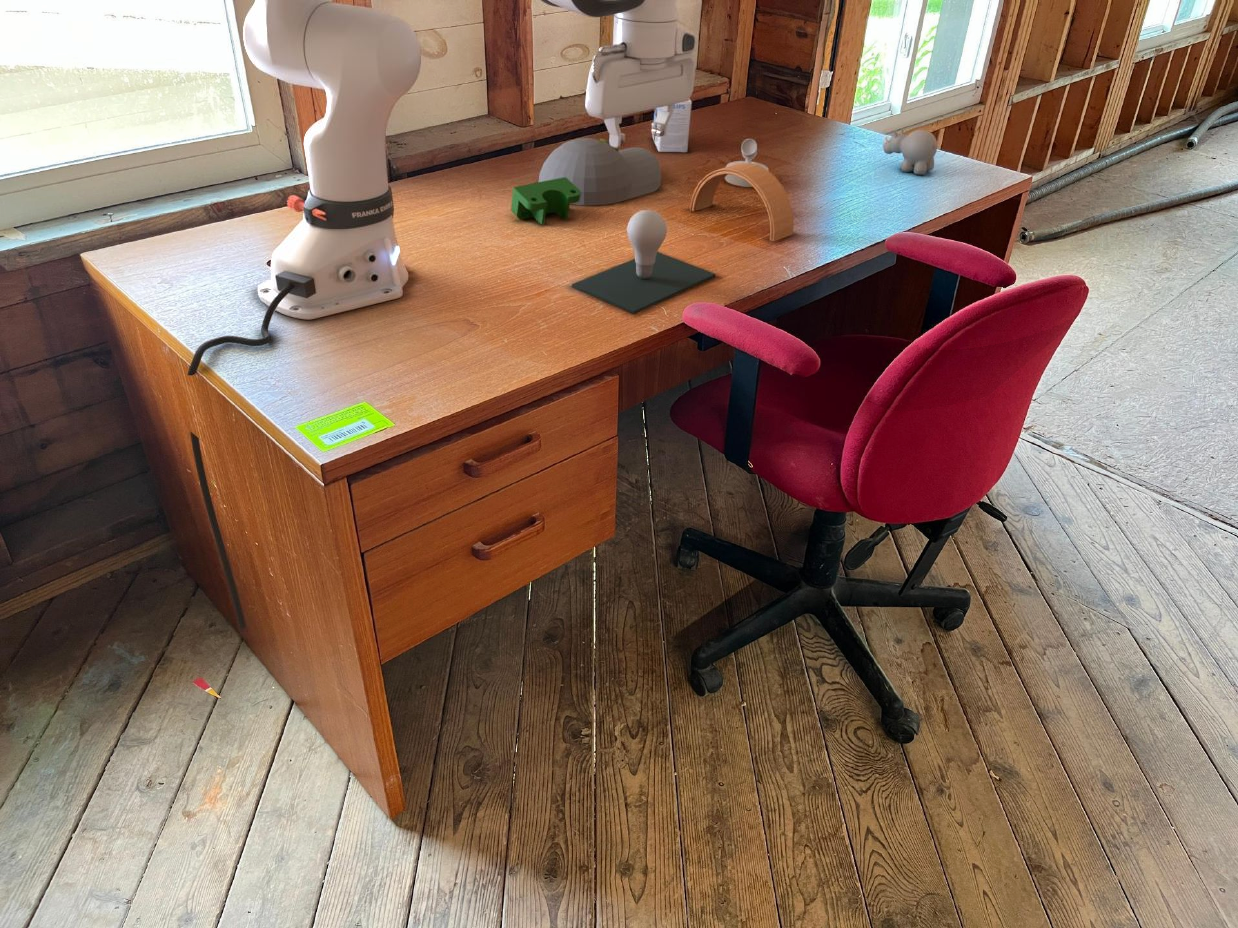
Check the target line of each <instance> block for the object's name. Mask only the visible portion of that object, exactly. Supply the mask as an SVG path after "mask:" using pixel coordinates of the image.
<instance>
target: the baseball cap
mask: <svg viewBox="0 0 1238 928" xmlns="http://www.w3.org/2000/svg"><path fill="white" fill-rule="evenodd" d="M617 148H618V147H617ZM617 148H615V147H612V146H610V144H609V140H607V139H604V138H599V139H596V138H592V137H591V138H590V137H579V138H576V139H572V140H568V141H566V142H564V143H562V144H560V145H559V146H558V147H556V148H555V149H553V151H552V152H551V153H550V154H549V156H548V157H547V158H546V160H545V161H544V162H543V164H542V167H541V169H540V172H539V175H538V182H543V181H548V180H553V179H558V178H563V177H566V178H567V179H568V180H569V181H570V182H571V183H573V184H574V185H575V186H576V187H577V188H578V189H579V190H580V191H581V195H580V200H579V201H578V202H576V203H571V204H570V205H576V206H604V205H613V204H616V203H620V202H623V201H624V202H625V201H627V200H630V199H634V198H637V197H641V196H645V195H647V194H651V193H655V192H656V191H657V190H658V189H659V188H660V186H661V184H662V170H661V166H660V163H659V161H658V159H657V157H656V155H655V154H654V153H652V152H651V151H650V150H649V149H646V148H643V147H638V146H637V147H628V148H624V149H620V150H618V149H617ZM538 182H537V183H538Z"/></svg>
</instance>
